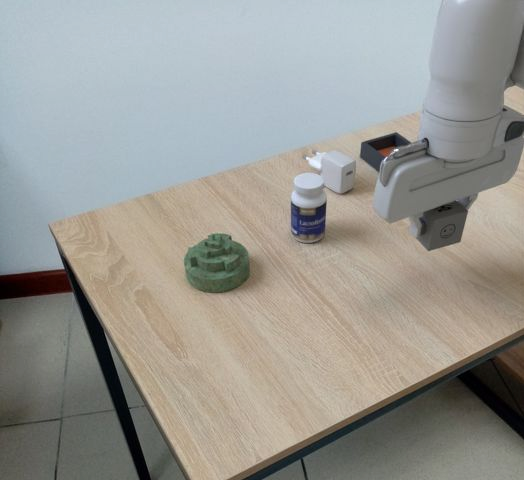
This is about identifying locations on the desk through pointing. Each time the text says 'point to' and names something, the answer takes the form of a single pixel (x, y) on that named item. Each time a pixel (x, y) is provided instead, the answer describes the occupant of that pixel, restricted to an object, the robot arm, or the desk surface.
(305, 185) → the pill bottle
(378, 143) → the compartment tray
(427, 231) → the dice cube
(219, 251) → the decorative artifact
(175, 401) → the desk surface
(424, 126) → the robot arm
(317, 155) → the power adapter
